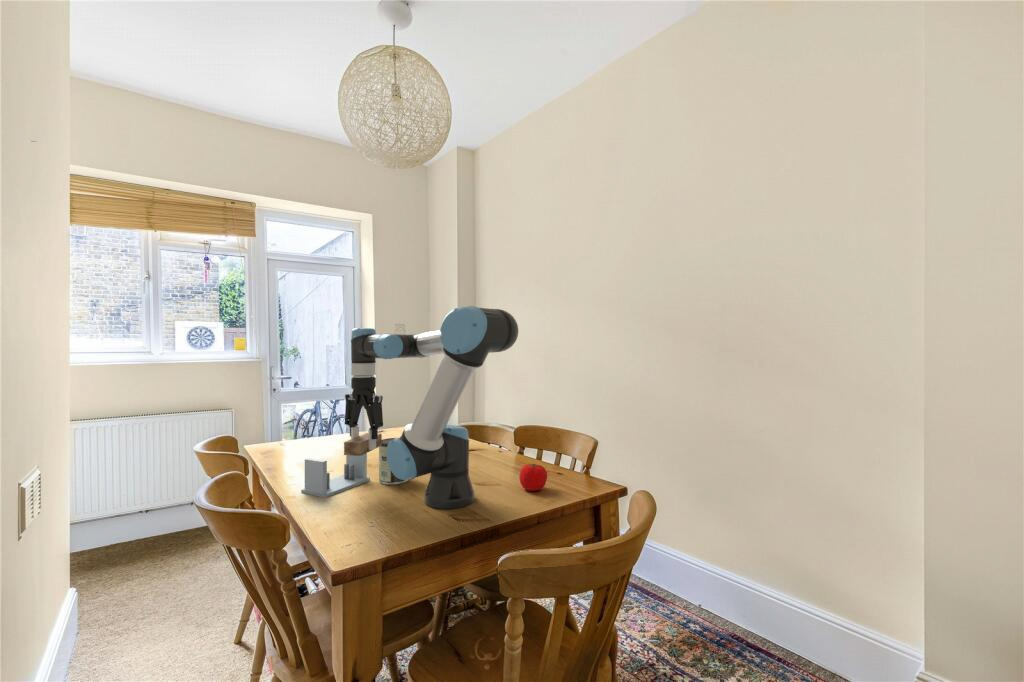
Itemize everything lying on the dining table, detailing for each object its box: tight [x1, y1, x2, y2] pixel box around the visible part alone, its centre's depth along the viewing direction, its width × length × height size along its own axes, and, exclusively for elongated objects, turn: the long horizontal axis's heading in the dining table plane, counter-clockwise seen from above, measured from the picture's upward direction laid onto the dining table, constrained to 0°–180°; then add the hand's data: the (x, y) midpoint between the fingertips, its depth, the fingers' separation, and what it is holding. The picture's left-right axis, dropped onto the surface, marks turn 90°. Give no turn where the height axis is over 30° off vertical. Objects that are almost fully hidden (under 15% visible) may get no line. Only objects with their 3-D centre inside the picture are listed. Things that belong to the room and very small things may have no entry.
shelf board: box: [343, 432, 383, 456], centre depth 148 cm, size 6×14×4 cm, turn 170°
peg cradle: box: [300, 453, 371, 498], centre depth 156 cm, size 11×20×11 cm, turn 155°
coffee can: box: [378, 437, 410, 486], centre depth 163 cm, size 10×10×14 cm
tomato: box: [518, 463, 548, 492], centre depth 154 cm, size 9×10×8 cm
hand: (363, 448), depth 148 cm, fingers closed on shelf board, 6 cm apart
